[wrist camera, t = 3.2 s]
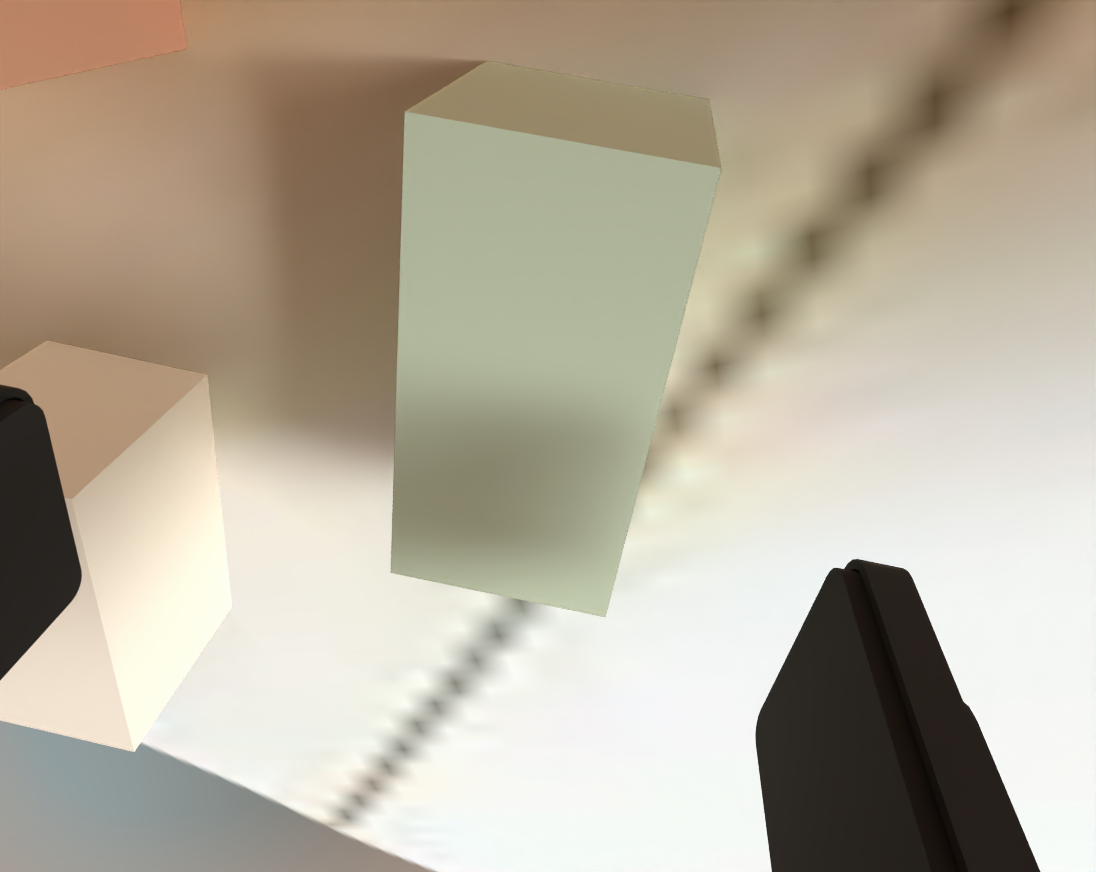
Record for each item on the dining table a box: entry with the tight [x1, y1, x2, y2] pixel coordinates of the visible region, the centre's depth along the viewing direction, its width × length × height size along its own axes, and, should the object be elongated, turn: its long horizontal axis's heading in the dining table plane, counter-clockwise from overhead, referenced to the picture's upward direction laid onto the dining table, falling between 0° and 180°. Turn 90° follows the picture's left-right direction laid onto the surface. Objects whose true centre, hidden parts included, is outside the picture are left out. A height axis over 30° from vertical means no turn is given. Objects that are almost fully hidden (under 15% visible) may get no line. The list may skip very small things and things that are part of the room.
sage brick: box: [391, 61, 721, 617], centre depth 14 cm, size 8×4×5 cm, turn 172°
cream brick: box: [0, 340, 232, 752], centre depth 19 cm, size 8×4×5 cm, turn 171°
